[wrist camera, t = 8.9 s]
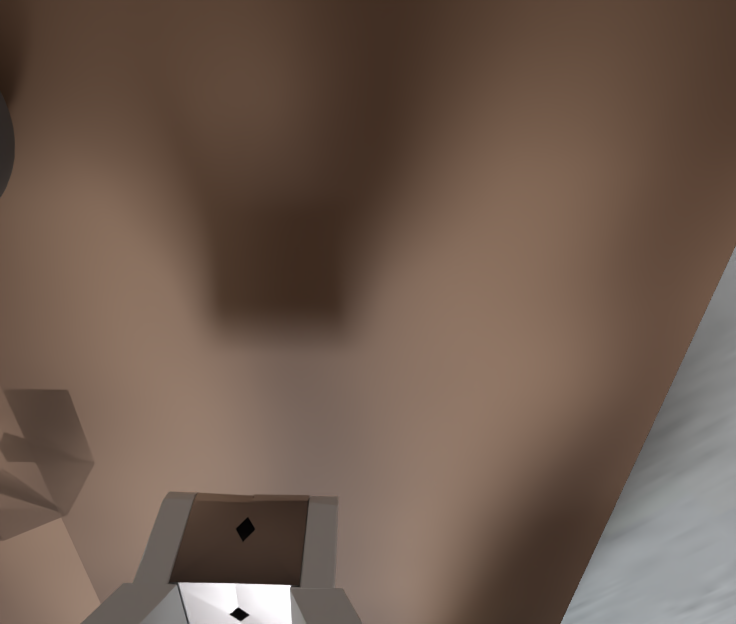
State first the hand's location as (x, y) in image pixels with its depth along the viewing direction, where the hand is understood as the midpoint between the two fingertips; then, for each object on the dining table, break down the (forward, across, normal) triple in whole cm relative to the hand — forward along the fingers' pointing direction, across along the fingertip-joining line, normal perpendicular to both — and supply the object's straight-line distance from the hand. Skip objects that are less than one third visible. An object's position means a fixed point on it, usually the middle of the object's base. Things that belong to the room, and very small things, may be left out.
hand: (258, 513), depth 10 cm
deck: (+5, +4, +1) cm, 6 cm away
